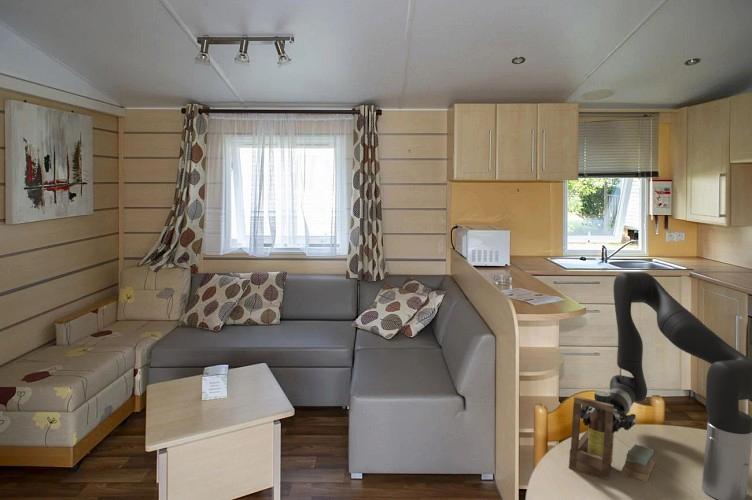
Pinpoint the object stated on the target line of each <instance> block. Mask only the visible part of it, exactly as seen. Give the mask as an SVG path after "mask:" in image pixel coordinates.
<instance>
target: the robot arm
mask: <svg viewBox="0 0 752 500" xmlns="http://www.w3.org/2000/svg"><path fill="white" fill-rule="evenodd" d="M612 289H613V301H614V308H615V309H614V310H615V317H616V318H615V319H616V327H617V352H616V353H617V356H616V357H617V358H616V364H617V365H616V366H617V367H618V368H620V369H621V370H624V371H626V372H628V373H630V374H631V375H632V376H627V375H622V374H621V375H620V374H617V375H613V376H612V377H611V379H610V380H609V390H608V391H607V392H608V393H610V394H611V400H610V404H612V405H614V412H613V427H612V433H614V434H615V432H616V433H617V432H619V431H620V430H621V429H622V428H623V429H624V430H625V431H629V430H631V428H632V427H634V426H635V425H636V419H637V416H636V414H633V413H632V414H628V413H630V411H631V408H632V406H633V404H634V403H635V402H637V403H640V402H643V401H644V400H646V398H647V395H648V387H647V382H646V380H645V376H644V375H645V374H644V369H643V354H644V353H643V351H644V347H643V346H644V345H643V343H644V342H643V339H642V337H641V334H640V332H639V331H638V329H637V327H636V325H635V323H634V320H633V317H632V304H633V303H634V304H635V303H639V304H640V303H643V304H646V305H648V306H649V307H650V308H652V310H653V311H654V312H655V313H656V323H657V328H658V329H659V331H660V333H661V334H662V335H663V336H664V337H665V338H666V339H668V341H669V342H671V344H673V346H675V347H676V348H678V349H680V350H681V351H683V352H685V353H686V354H689V355H691V356H693V357H696V358H697V359H698V358H699V359H700V360H703V361H704V362H706V363H708V364H710V366H709V367H708V370H707V373H706V380H705V381H706V382H705V384H706V386H705V387H706V389H705V409H706V412H707V425H706V434H705V435H706V437H705V446H704V447H705V448H704V458H703V459H704V460H703V468H702V469H703V470H702V471H703V472H702V477H701V478H702V479H701V489H702V491H703V492H704V493H706V494H707V495H709V496H710V497H711V498H714V499H716V500H747V495H748V485H749V484H748V483H749V475H750V464H751V453H752V416H751V415H749V414H748V413H745V412H744V411H741V410H740V406H739V405H740V401H743V400H744V401H746V400H752V359H750V357H748V356H747V355H744V354H743V353H742V352H740V351H738V350H737V349H736V348H734V347H733V346H731V345H730V344H729V343H727V342H726V341H725V340H724V339H722V338H721V337H720V336H719V335H718V334H717V333H715V332H713V330H712V329H710V328H709V327H708V326H707V325H706V324H704V323H703V322H702V321H701V320H700V319H699V318H698V317H697V316H695V315H694V314H693V313H691V312H690V311H689V310H688V309H687V308H685V307H684V306H683V305H682V304H680V302H679V301H677V299H675V298H674V297H673V296H672V295H671V294H670V293H669V292H668V291H667V290H666V289H665V288H664V287H663V285H662V284H661V283H660V282H658V280H657V279H656V278H655V277H654V276H653V275H651V274H650V273H647V272H641V271H640V272H620V273H619V274H617V275H616V276H615V278H614V281H613V288H612ZM594 409H595V408H593V407H589V406H585V405H581V414H580V420H581V419H582V424H583V425H584V426H585V427H586V426H587V427H589V417H590V415H591V413H592V412H593V411H594Z"/></svg>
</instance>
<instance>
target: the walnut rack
mask: <svg viewBox="0 0 752 500" xmlns="http://www.w3.org/2000/svg"><path fill="white" fill-rule="evenodd" d="M582 405H585V406H589V407H593V408H597V409H601V410H605V411H606V416H605V431H604V446H603V457H600V456H597V455H593V454H590V453H587V449H588V429H587V430H586V431H585V432H584V433H583V434H582V436H581V437H580V427H581V426H580V425H581V418H580V414H581V407H582ZM572 406H573V407H572V425H571V437H570V438H571V441H570V449H569V461H568V468H569V469H571V470H573V471H574V470H575V471H578V472H582V473H585V474H588V475H590V476H591V475H592V476H595V477H597V478H601V479H603V480H606V481H608V480H609V478H610V470H611V468H610V456H611V441H612V427H613V412H614V405H612V404H608V403H603V402H599V401H595V399H591V398H590V399H589V398H586V397H582V396H578V395H574V397H573V405H572Z"/></svg>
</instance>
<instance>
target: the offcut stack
mask: <svg viewBox="0 0 752 500" xmlns="http://www.w3.org/2000/svg"><path fill="white" fill-rule="evenodd" d="M654 451H655V450H654V449H652V448H649V447H645V446H643V445H639V444H634V445H633V446H632V447H631V448H630V449H628V451H627V453H626V458H625V462H624V465H623V466H622V469H621V475H623V476H627V477H629V478H633V479H637V480H640V481H643V482H646V483H648V481H649V478H650V476H651V474H652V473H653V470H654V468H655V467H654V466H655V461H653V460H652V459H653V457H654Z"/></svg>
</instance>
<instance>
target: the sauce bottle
mask: <svg viewBox="0 0 752 500" xmlns="http://www.w3.org/2000/svg"><path fill="white" fill-rule="evenodd" d="M593 396H594V400H595V401H599V402H603V403H608V404H610V400H611V394H610V393H608V391H603V390H602V391H601V390H598V391H595V392H594V395H593ZM605 416H606V411H605V410H601V409H597V408H595V409H594V411H593V412H592V413H591V415H590V417H589V425H588V429H587V430H588V449H587V453H590V454H593V455H597V456H600V457H603V446H604V431H605ZM614 435H615V433H612V441H611V456H610V469H611V467H612V462H613V455H614V454H613V453H614V440H615V439H614Z"/></svg>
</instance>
